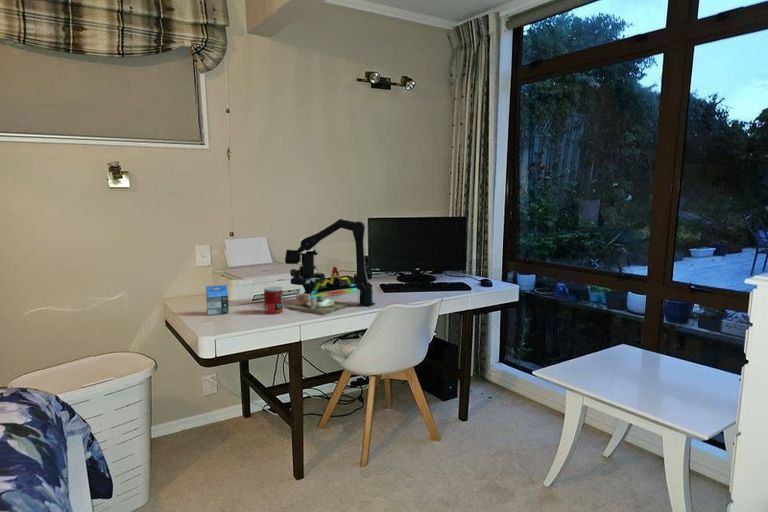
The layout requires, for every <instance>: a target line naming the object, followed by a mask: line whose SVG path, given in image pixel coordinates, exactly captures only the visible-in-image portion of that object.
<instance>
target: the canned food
mask: <svg viewBox="0 0 768 512" xmlns="http://www.w3.org/2000/svg"><path fill="white" fill-rule="evenodd" d="M263 290H264V291H263V295H264V312H265V314H267V315H279V314H282V313H283V309H284V308H283V307H284V306H283V305H284V304H283V302H284V301H283V300H284V299H283V287H281V286H267V287H264V289H263Z"/></svg>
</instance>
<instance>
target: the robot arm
mask: <svg viewBox="0 0 768 512" xmlns="http://www.w3.org/2000/svg"><path fill="white" fill-rule="evenodd" d="M340 229H345V230H347V231H352V234H353V238H354V242H355V255H356V273H354V274H353V280H354V283H353V284H355V287H356V288H355V289H357V290H359V302H358V303H356V304H357V306H360V307H362V306H363V307H371V306H374V305H376V302H373V295H374V294H373V284H371V283H370V282H369V278H368V274H367V271H366V264H365V263H366V261H365V249H364V247H365V245H364V240H365V239H364V238H365V231H366V225H365V223H364V222H362V220H361V221H360V220H358V221H351V220H346V219H344V218H339V219H337V221H335V222H334V223H332V224H331V225H328V226H327V227H325V228H324V229H322V230H320V231H319V232H318V233H317V232H316V233H315V234H312V235H310V236H307V237H304V238H303V239H302V240H301V241H300V246H299V248H297V249H286V251H285V252H286V253H285V257H284V261H285V265H299V263H301V266H299V269H295V268H293V269H290V273H289V274H290V277H292V278H290V285H295V286H296V285H297V286H302V287H303V289H304V292H305V294H310V295H312V294H311V293H312V291H313V290H314V288H315V286H316V284H317V283H318V281H316V280H317V279H320V281H321V280H322V281H323V280H325V279H326V275H325V273H323V272H315V269H317V266H316V265H315V256H318V255H319V253H318V251H316V249H313V248H314V247H315V246H316V245H318V244H319V243H320V242H322V241H321V240H324V239H325V238H327V237H328V236H330V235H331V234H333V233H335V232H337V231H338V230H340ZM311 249H313V250H311ZM304 251H306V252H304Z"/></svg>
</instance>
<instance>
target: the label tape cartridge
mask: <svg viewBox="0 0 768 512" xmlns="http://www.w3.org/2000/svg"><path fill="white" fill-rule="evenodd" d="M227 286H228V285H227V284H224V285H221V284H220V285H208V286H207V285H206V286H205V290H206V291H205V296H206V298H205V300H206V301H205V302H206V315H207V316H214V315H228V314H229V310H230V309H229V294H228V288H227ZM216 288H217V289H216Z"/></svg>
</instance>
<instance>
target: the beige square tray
mask: <svg viewBox="0 0 768 512" xmlns="http://www.w3.org/2000/svg"><path fill="white" fill-rule="evenodd" d="M288 307H289V308H288V309H289V310H293V311H297V312H305V313H310V314H315V315H320V316H325V315H329V314H331V313H334V312H337V311H340V310H342V309H345V308H348V307H351V303H349V302H344V301H337V300H334V305H333V306H330V307H322V308H316V299H311V307H309V306H307V305H296V304H293V305H289V306H288Z"/></svg>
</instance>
